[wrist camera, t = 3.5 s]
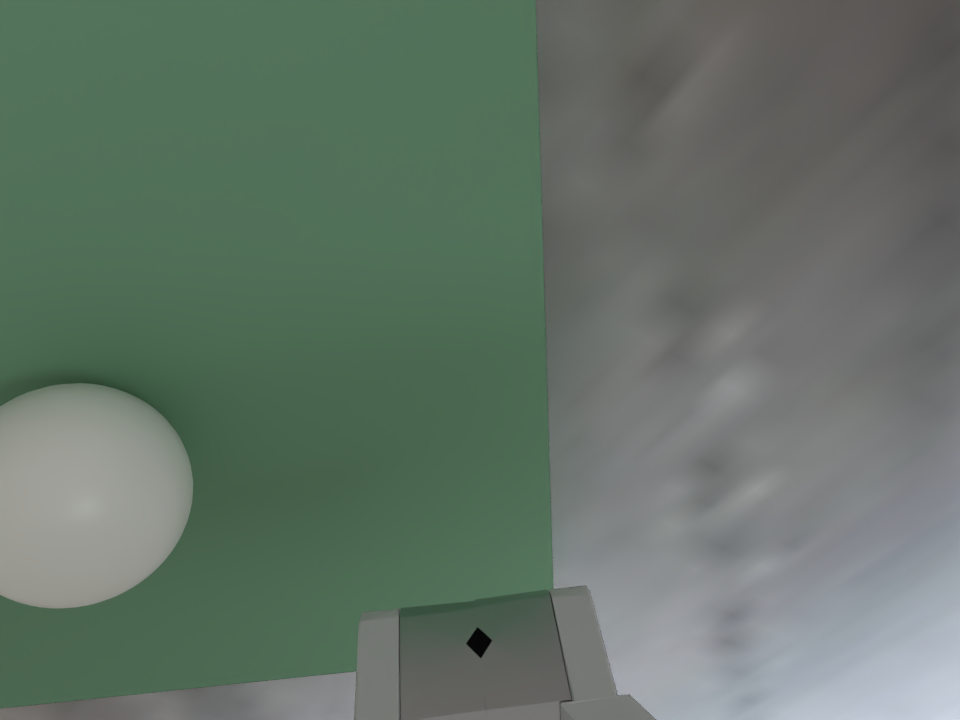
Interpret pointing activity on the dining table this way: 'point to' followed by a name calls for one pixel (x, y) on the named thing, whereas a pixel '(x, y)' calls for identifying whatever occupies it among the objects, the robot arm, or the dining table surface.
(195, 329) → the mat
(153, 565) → the ball
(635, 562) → the dining table surface
